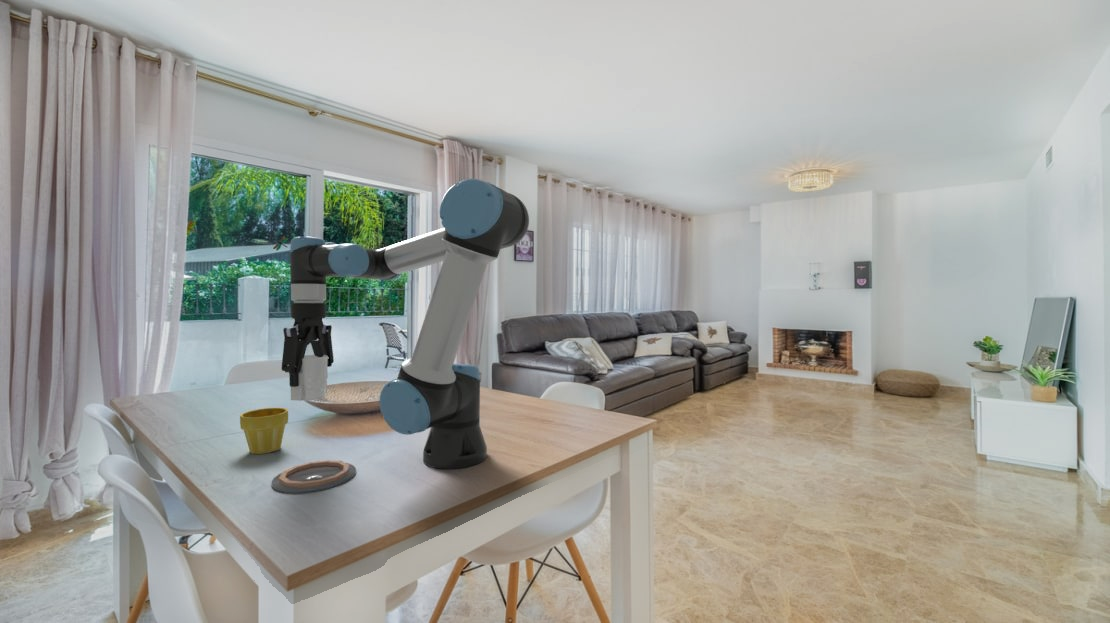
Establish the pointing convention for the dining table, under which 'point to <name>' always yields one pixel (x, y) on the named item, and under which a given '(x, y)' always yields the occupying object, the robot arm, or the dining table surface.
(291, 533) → the dining table surface
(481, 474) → the dining table surface
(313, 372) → the white cup
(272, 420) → the plant pot
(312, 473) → the trivet
